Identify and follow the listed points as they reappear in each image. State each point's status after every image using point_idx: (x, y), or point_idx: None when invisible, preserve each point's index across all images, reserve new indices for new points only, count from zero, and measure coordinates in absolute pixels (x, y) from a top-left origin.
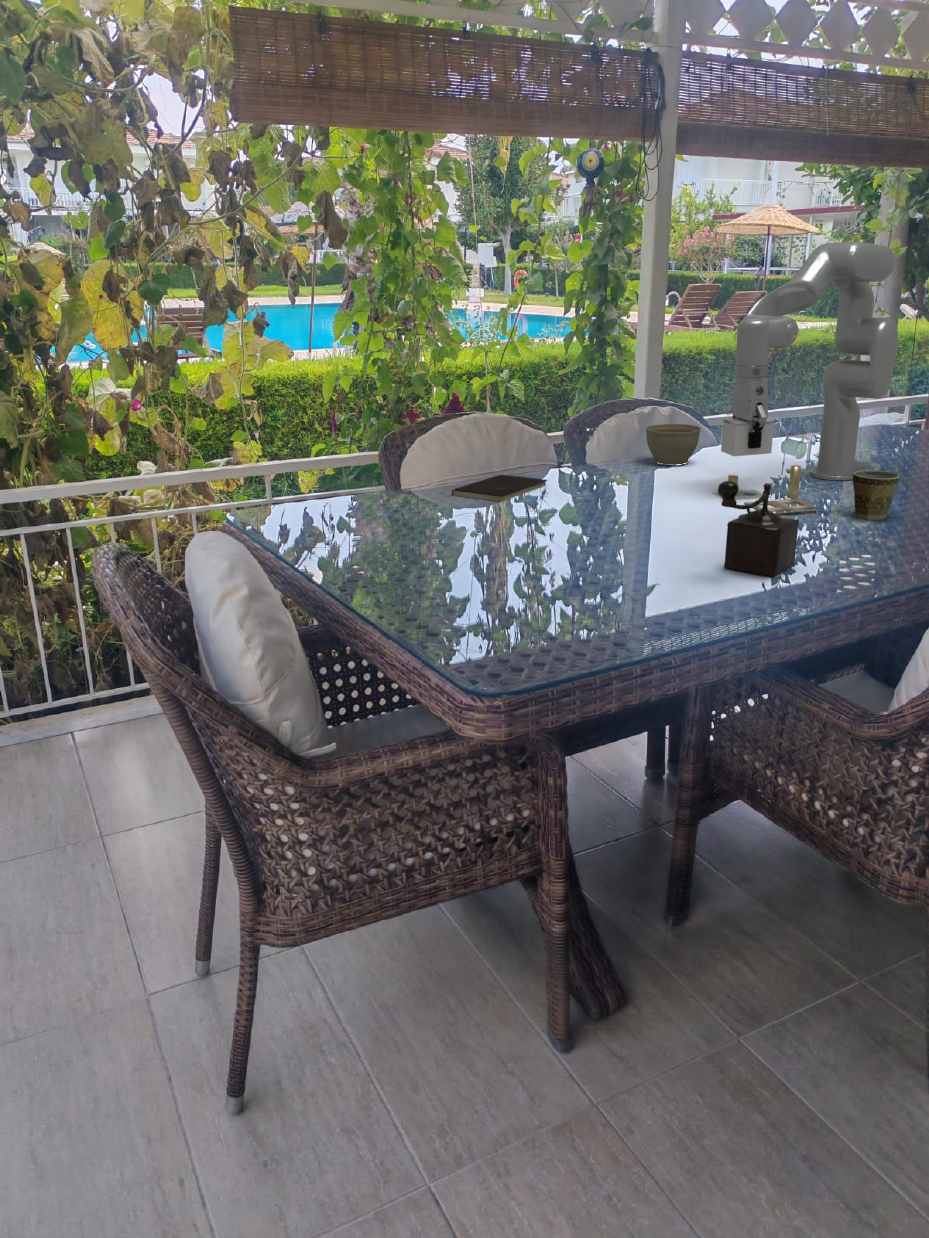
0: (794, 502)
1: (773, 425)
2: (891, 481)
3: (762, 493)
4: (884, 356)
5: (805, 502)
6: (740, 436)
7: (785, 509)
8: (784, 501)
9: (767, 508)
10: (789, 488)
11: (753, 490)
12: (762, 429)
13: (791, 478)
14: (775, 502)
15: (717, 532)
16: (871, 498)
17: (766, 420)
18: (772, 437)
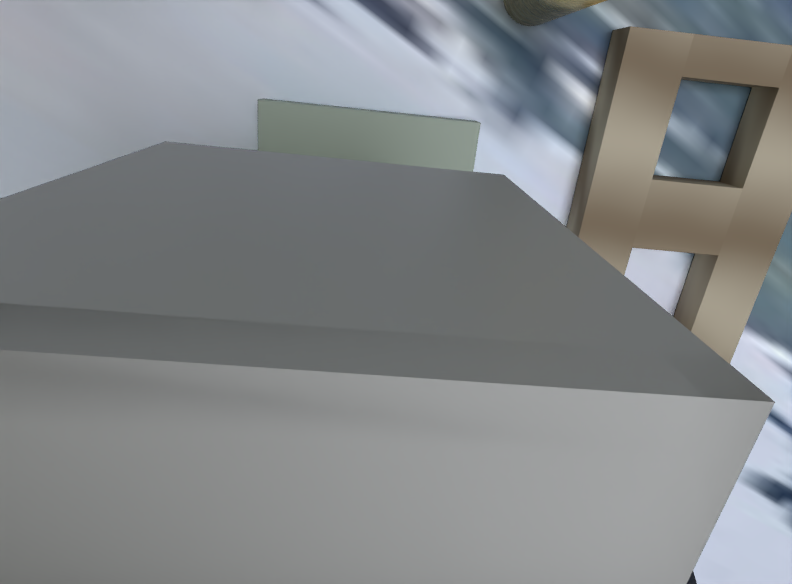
0: (673, 90)
1: (683, 326)
2: None
3: (368, 112)
4: None
5: (733, 39)
6: None
7: (774, 251)
8: (642, 147)
9: (709, 321)
10: (554, 15)
11: (271, 114)
12: (690, 579)
13: (594, 3)
14: (633, 210)
15: (768, 573)
16: None
17: (555, 534)
18: (565, 228)
